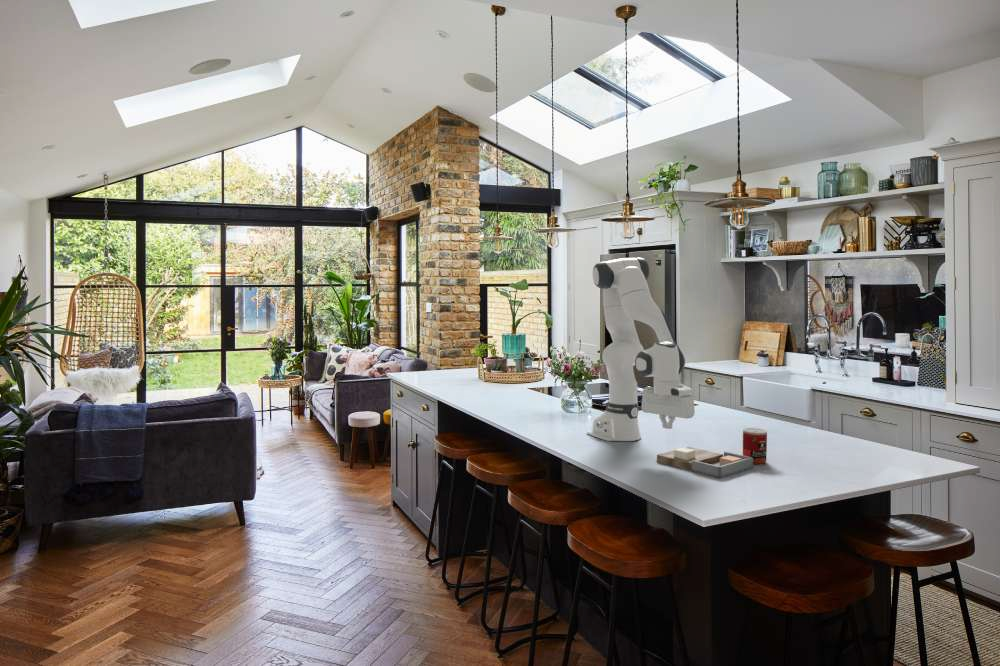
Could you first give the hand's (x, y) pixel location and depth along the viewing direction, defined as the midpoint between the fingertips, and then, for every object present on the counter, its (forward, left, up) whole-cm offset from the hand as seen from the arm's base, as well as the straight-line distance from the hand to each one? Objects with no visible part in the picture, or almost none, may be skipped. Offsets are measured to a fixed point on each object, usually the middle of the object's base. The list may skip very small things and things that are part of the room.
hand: (667, 428), depth 228 cm
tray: (+19, +5, -11) cm, 22 cm away
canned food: (+20, +22, -12) cm, 32 cm away
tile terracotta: (+19, +9, -11) cm, 24 cm away
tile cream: (+7, 0, -9) cm, 11 cm away
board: (+6, +5, -11) cm, 14 cm away
